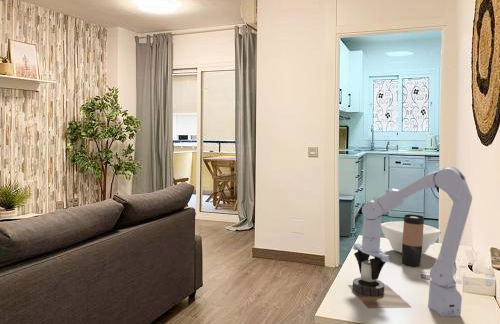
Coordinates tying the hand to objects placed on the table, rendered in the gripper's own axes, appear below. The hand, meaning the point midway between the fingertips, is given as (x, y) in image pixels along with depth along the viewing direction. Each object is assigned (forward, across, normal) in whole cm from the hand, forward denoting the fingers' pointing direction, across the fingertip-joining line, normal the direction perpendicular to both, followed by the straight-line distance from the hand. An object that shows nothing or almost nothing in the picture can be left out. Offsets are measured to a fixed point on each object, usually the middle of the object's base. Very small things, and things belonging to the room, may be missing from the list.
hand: (368, 276), depth 140 cm
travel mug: (+6, +15, -38) cm, 41 cm away
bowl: (+6, +28, -50) cm, 57 cm away
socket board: (+6, -5, 0) cm, 8 cm away
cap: (+1, 0, 0) cm, 1 cm away
